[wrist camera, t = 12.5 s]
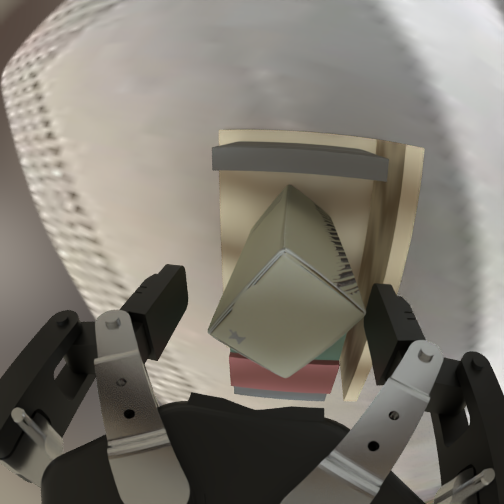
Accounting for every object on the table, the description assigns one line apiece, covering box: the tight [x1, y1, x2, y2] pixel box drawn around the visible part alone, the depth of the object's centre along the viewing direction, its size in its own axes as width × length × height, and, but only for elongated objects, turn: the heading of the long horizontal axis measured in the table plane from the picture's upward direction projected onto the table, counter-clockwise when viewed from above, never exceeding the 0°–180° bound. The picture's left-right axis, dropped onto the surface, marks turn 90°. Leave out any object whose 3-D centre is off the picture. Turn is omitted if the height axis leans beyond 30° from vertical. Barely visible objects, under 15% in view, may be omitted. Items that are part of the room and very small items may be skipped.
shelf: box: [212, 130, 424, 401], centre depth 21 cm, size 21×13×8 cm, turn 0°
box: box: [208, 185, 366, 378], centre depth 16 cm, size 5×4×13 cm
